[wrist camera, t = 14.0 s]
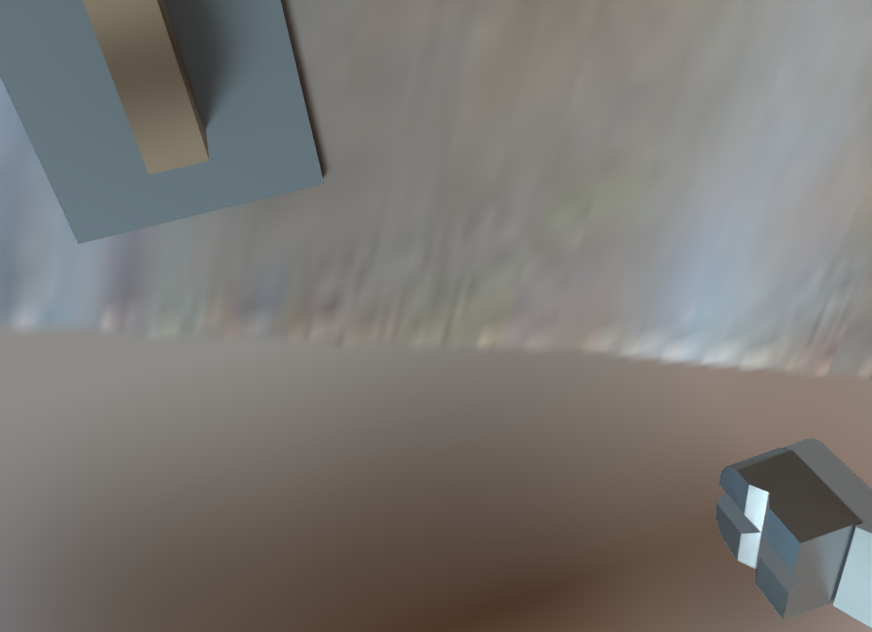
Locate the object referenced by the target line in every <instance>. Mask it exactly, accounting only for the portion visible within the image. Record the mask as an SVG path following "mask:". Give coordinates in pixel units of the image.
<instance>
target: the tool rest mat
mask: <svg viewBox="0 0 872 632" xmlns="http://www.w3.org/2000/svg"><path fill="white" fill-rule="evenodd" d="M165 4H166V7H167V10H168V13H169V16H170V19H171V22H172V25H173V28H174V31H175V35H176V38H177V41H178V44H179V47H180V50H181V53H182V56H183V59H184V63H185V66H186V69H187V72H188V75H189V78H190V81H191V84H192V87H193V91H194V94H195V97H196V100H197V103H198V106H199V109H200V112H201V115H202V119H203V122H204V125H205V128H206V134H207V143H208V152H209V161H206V162H202V163H198V164H193V165H189V166H185V167H181V168H176V169H172V170H168V171H164V172H159V173H155V174H151V175H149V174H148V171H147V168H146V166H145V163H144V160H143V158H142V155H141V153H140V150H139V147H138V145H137V142H136V139H135V137H134V134H133V132H132V129H131V126H130V124H129V121H128V118H127V116H126V113H125V111H124V108H123V105H122V103H121V100H120V97H119V95H118V92H117V90H116V87H115V84H114V82H113V79H112V76H111V74H110V71H109V69H108V66H107V63H106V61H105V58H104V55H103V53H102V50H101V48H100V45H99V42H98V40H97V37H96V34H95V32H94V29H93V27H92V24H91V21H90V19H89V16H88V14H87V11H86V8H85V6H84V3H83V0H0V77H1V79H2V81H3V83H4V85H5V87H6V90H7V92H8V94H9V96H10V98H11V100H12V102H13V105H14V107H15V109H16V111H17V113H18V115H19V117H20V120H21V122H22V124H23V126H24V128H25V130H26V132H27V135H28V137H29V139H30V141H31V143H32V145H33V147H34V150H35V152H36V154H37V156H38V158H39V160H40V162H41V165H42V167H43V169H44V171H45V173H46V175H47V177H48V180H49V182H50V184H51V186H52V188H53V190H54V192H55V195H56V197H57V199H58V201H59V203H60V205H61V207H62V210H63V212H64V214H65V216H66V218H67V220H68V222H69V225H70V227H71V229H72V231H73V233H74V235H75V237H76V240H77V242H78V244H79V243H83V242H87V241H92V240H96V239H100V238H104V237H108V236H112V235H116V234H120V233H124V232H128V231H132V230H136V229H141V228H145V227H149V226H153V225H157V224H161V223H165V222H169V221H173V220H177V219H181V218H186V217H190V216H194V215H198V214H202V213H206V212H210V211H214V210H218V209H222V208H226V207H230V206H235V205H239V204H243V203H247V202H251V201H255V200H259V199H263V198H267V197H271V196H275V195H280V194H284V193H288V192H292V191H296V190H300V189H304V188H308V187H312V186H316V185H320V184H324V181H323V177H322V173H321V168H320V164H319V160H318V156H317V151H316V147H315V143H314V139H313V135H312V130H311V126H310V122H309V118H308V114H307V109H306V105H305V101H304V97H303V92H302V88H301V84H300V80H299V76H298V71H297V67H296V63H295V59H294V55H293V50H292V46H291V42H290V38H289V34H288V29H287V25H286V21H285V17H284V12H283V8H282V4H281V0H165Z"/></svg>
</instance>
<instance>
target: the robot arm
mask: <svg viewBox="0 0 872 632" xmlns="http://www.w3.org/2000/svg"><path fill="white" fill-rule="evenodd" d="M719 484H720V485H721V486H722V487H723V489H724V490H725V491H726V492H725V493H724V495H723V496H722V497H721V498H720V500H719V501H718V502H717V509H716V520H717V523H718V527H719V530H720V534H721V536H722V538H723V540H724V541H725V543H726V545H727V547H728V548H729V550H730V551H731V552H732V554H733V555H734V556H735V558H736V559H737V560H738V561H740V562H742V563H744V564H746V565H748V566H751V567H753V568H755V584H756V585H757V587H758V588H759V589H760V590H761V592H762V593H763V594H764V595H765V597H766V598H767V599H768V601H769V602H770V603H771V605H772V606H773V607H774V608H775V610H776V611H777V612H778V614H779V615H780V616H781V617H782V619H786V618H789V617H792V616H795V615H798V614H801V613H804V612H806V611H809V610H812V609H815V608H818V607H821V606H824V605H827V604H830V603H833V602H834V604H833V606H835V607H837V608H838V609H840V610H842V611H844V612H845V613H847V614H849V615H850V616H852V617H854V618H855V619H857V620H859V621H861V622H862V623H864V624H866V625H867V626H869V627H871V628H872V489H871V488H870V487H869V486H868V485H867V484H866V483H864V482H863V481H862V480H861V479H860V478H859V477H858V476H857V475H856V474H855V473H854V472H853V471H852V470H851V469H849V467H847V466H846V465H845V464H844V463H843V462H842V461H841V460H840V459H839V458H838V457H837V456H836V455H835V454H834V453H833V452H832V451H830V450H829V449H828V448H827V447H826V446H825V445H824V444H823V443H822V442H821V441H818V440H816V439H814V438H810V439H805V440H803V441H800V442H797V443H794V444H792V445H789V446H786V447H783V448H777V449H774V450H771V451H769V452H766V453H763V454H760V455H757V456H754V457H751V458H749V459H746V460H743V461H740V462H737V463H735V464H732V465H729V466H726V467H725V468H724V469H723V471H722V472H721V475H720V482H719Z"/></svg>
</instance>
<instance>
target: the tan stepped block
mask: <svg viewBox="0 0 872 632" xmlns="http://www.w3.org/2000/svg"><path fill="white" fill-rule="evenodd" d="M83 3H84V6H85V8H86V11H87V14H88V16H89V19H90V21H91V24H92V27H93V29H94V32H95V34H96V37H97V40H98V42H99V45H100V48H101V50H102V53H103V55H104V58H105V61H106V63H107V66H108V69H109V71H110V74H111V76H112V79H113V82H114V84H115V87H116V90H117V92H118V95H119V97H120V100H121V103H122V105H123V108H124V111H125V113H126V116H127V118H128V121H129V124H130V126H131V129H132V132H133V134H134V137H135V139H136V142H137V145H138V147H139V150H140V153H141V155H142V158H143V160H144V163H145V166H146V168H147V171H148V174H149V175H151V174H155V173H159V172H164V171H168V170H172V169H176V168H181V167H185V166H189V165H193V164H198V163H202V162H206V161H209V152H208V143H207V134H206V128H205V125H204V122H203V119H202V115H201V112H200V109H199V106H198V103H197V100H196V97H195V94H194V91H193V87H192V84H191V81H190V78H189V75H188V72H187V69H186V66H185V63H184V59H183V56H182V53H181V50H180V47H179V44H178V41H177V38H176V35H175V31H174V28H173V25H172V22H171V19H170V16H169V13H168V10H167V7H166V4H165V0H83Z"/></svg>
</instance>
